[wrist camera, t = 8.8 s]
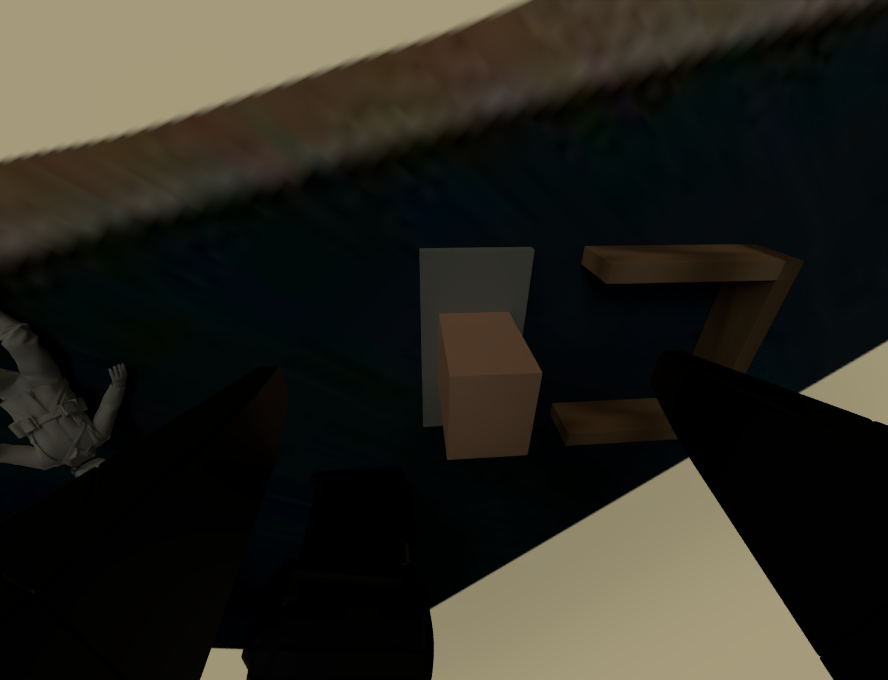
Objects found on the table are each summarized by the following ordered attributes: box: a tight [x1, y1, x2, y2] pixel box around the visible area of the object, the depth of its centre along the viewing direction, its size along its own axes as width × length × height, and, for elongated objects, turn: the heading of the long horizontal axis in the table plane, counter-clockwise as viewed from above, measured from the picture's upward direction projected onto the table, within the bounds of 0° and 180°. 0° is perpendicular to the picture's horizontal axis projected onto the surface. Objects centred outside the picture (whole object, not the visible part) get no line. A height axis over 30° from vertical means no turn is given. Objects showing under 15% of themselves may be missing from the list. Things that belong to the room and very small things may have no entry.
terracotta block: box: [438, 312, 542, 460], centre depth 19 cm, size 4×5×6 cm
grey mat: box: [419, 247, 534, 427], centre depth 22 cm, size 6×12×1 cm, turn 179°
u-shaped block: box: [550, 244, 804, 446], centre depth 22 cm, size 10×12×3 cm
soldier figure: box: [0, 310, 127, 478], centre depth 19 cm, size 8×5×12 cm
